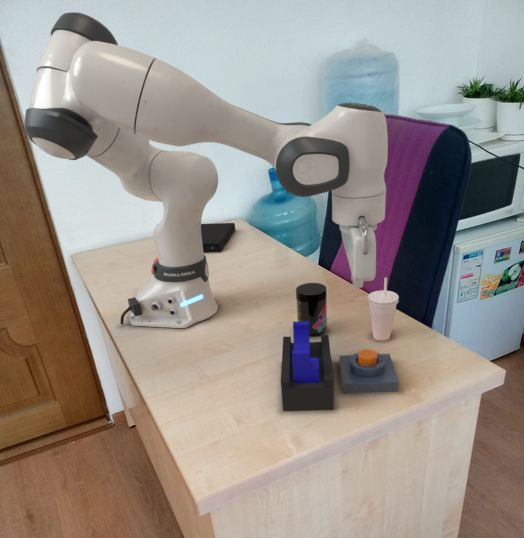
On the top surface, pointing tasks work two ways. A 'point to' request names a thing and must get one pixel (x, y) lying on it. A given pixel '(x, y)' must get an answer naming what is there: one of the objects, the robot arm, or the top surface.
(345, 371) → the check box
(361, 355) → the button
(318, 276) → the top surface
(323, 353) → the inspection stand
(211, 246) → the external hard drive
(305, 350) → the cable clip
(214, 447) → the top surface
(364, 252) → the robot arm
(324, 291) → the supplement container
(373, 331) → the smoothie
